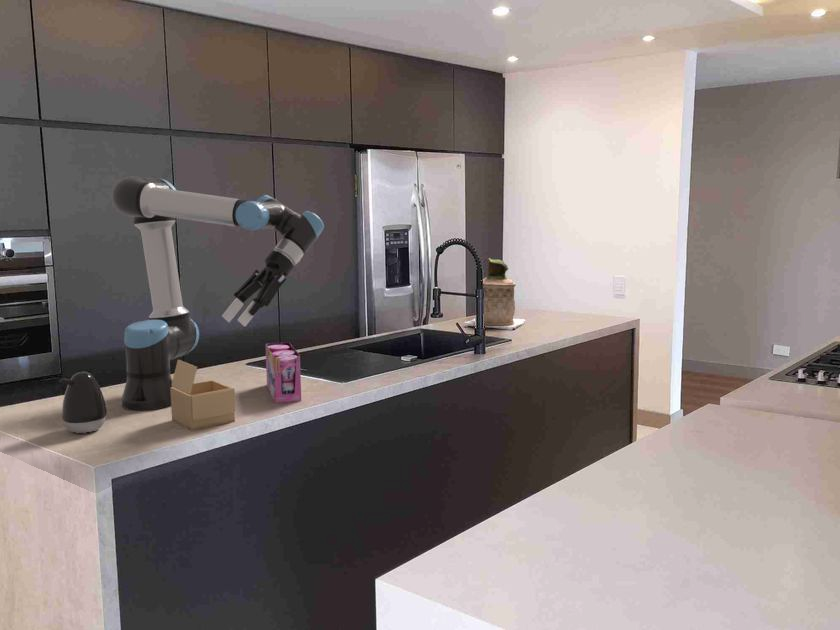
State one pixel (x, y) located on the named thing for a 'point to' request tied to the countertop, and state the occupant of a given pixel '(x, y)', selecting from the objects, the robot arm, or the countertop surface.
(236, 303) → the robot arm
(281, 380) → the gum box
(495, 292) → the cookie jar
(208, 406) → the carton
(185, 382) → the front flap
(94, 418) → the pump dispenser
